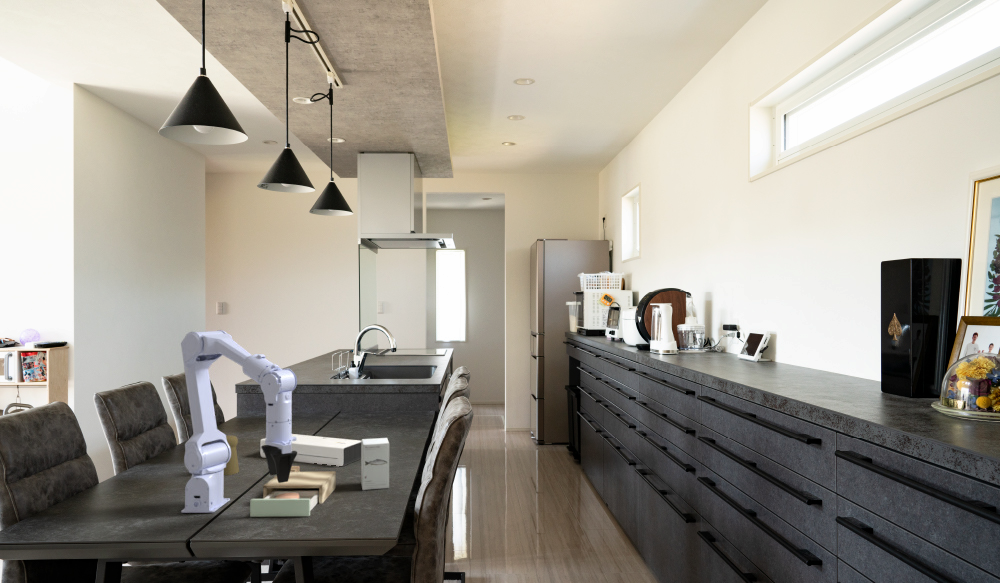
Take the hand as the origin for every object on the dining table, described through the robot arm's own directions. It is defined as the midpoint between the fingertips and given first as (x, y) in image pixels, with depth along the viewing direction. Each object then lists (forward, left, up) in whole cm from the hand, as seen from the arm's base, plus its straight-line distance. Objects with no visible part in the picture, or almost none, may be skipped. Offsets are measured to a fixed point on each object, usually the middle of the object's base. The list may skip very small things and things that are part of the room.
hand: (278, 478), depth 143 cm
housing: (+16, 0, -10) cm, 19 cm away
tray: (+8, 0, -10) cm, 13 cm away
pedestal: (+29, +7, -10) cm, 31 cm away
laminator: (+56, +9, -10) cm, 58 cm away
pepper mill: (+39, +29, -10) cm, 50 cm away
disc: (+6, 0, -8) cm, 10 cm away
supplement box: (+25, -18, -10) cm, 32 cm away
